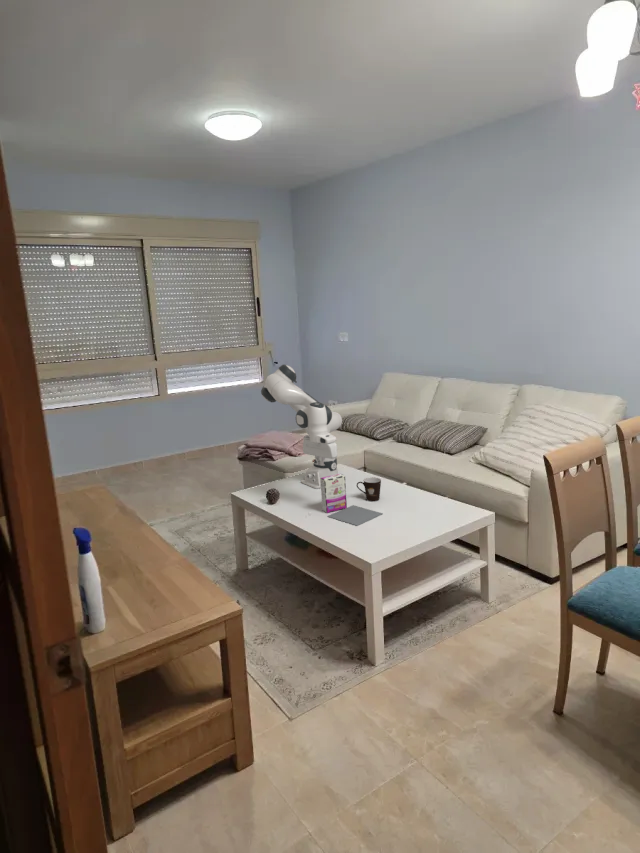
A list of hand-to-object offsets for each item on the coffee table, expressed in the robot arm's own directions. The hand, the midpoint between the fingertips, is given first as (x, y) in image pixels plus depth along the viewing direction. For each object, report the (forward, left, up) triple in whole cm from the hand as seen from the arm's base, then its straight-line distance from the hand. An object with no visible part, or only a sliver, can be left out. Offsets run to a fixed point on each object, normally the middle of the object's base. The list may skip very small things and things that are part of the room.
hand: (320, 465), depth 271 cm
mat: (+21, 0, -21) cm, 29 cm away
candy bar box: (+8, 0, -21) cm, 22 cm away
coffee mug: (+12, +22, -21) cm, 33 cm away
